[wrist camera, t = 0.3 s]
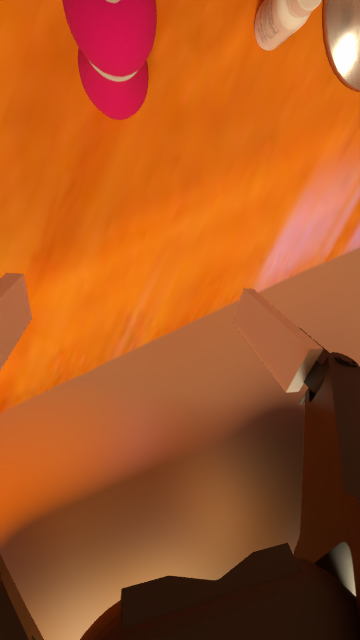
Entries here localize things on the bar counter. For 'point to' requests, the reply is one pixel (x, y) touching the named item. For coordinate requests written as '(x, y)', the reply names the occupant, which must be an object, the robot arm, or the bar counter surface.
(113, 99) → the pepper mill
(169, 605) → the robot arm
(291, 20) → the pill bottle
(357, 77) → the flange plate
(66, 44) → the bar counter surface
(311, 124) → the bar counter surface
